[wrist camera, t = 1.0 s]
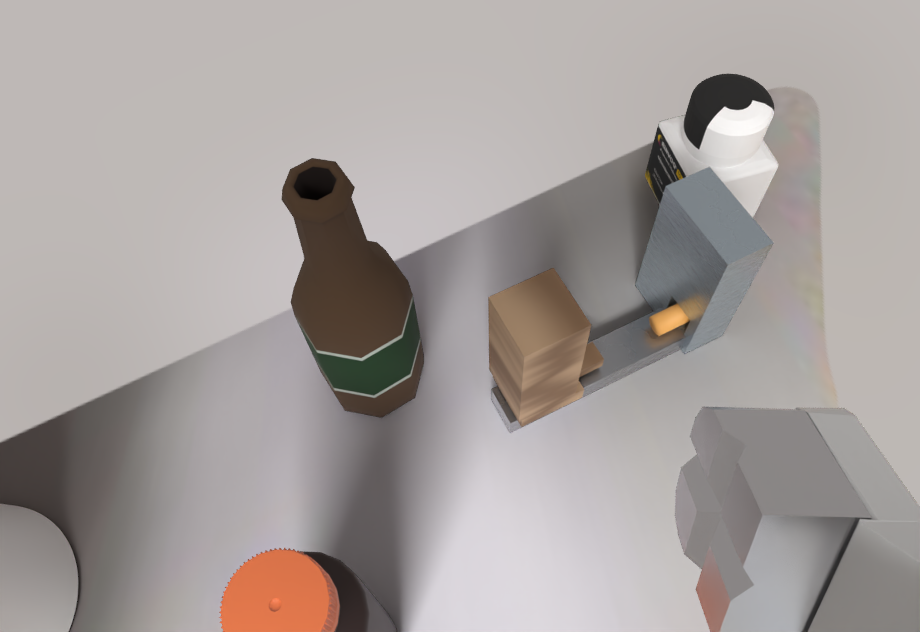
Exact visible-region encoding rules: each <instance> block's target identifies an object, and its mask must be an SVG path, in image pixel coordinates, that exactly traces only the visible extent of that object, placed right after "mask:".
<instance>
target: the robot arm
mask: <svg viewBox="0 0 920 632" xmlns="http://www.w3.org/2000/svg"><path fill="white" fill-rule="evenodd" d="M690 437H691V440H692V443H693V445H694V448H695V450H696V453H697V455H696V456H694V457H693V458H692V459H691V460H690V461H688V462H687V463H686V464H685V465H684V466H682V467H681V470H680V475H679V479H678V483H677V487H676V496H675V518H676V524H677V530H678V536H679V539H680V542H681V545H682V549H683V552H684V554H685V555H686V556H687V557H688V558H689V559H690V560H692V561H693V562H694V563H695V564H696V565H697V566H698V567H700V568H701V569H702V571H701V574H700V578H699V581H698V584H697V587H696V591H697V594H698V597H699V600H700V603H701V606H702V609H703V612H704V615H705V617H706V620H707V623H708V626H709V629H710V632H920V506H919V505H918V504H917V502H916V501H915V499H914V498H913V497H912V495H911V494H910V492H909V491H908V490H907V488H906V487H905V485H904V484H903V482H902V481H901V480H900V478H899V477H898V475H897V474H896V473H895V471H894V470H893V468H892V467H891V465H890V464H889V462H888V461H887V460H886V458H885V457H884V455H883V454H882V452H881V451H880V450H879V448H878V447H877V445H876V444H875V443H874V441H873V440H872V438H871V437H870V435H869V434H868V433H867V431H866V430H865V428H864V427H863V426H862V424H861V423H860V421H859V420H858V418H857V417H856V416H855V415H854V414H853V413H851V412H849V411H848V410H846V409H844V408H796V409H769V408H732V407H702V408H701V410H700V411H699V413H698V414H697V416H696V417H695V421H694V424H693V427H692V431H691V434H690ZM77 597H78V572H77V565H76V561H75V557H74V554H73V551H72V549H71V546H70V544H69V542H68V541H67V539H66V537H65V536H64V534H63V533H62V532H61V530H60V529H59V528H58V527H57V526H56V525H55V524H54V523H53V522H52V521H50V520H49V519H48V518H46V517H45V516H43V515H42V514H40V513H38V512H35V511H33V510H30V509H28V508H24V507H20V506H15V505H6V504H0V632H69V629H70V627H71V624H72V621H73V617H74V614H75V609H76V604H77Z"/></svg>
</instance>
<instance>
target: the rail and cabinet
mask: <svg viewBox="0 0 920 632" xmlns="http://www.w3.org/2000/svg"><path fill="white" fill-rule="evenodd" d="M772 245H773V242H772V240H771V239H770V238H769V237H768V236H767V234H766V233H765V232H764V231H763V230H762V228H761V227H760V226H759V225H758V224H757V222H756V221H755V220H754V219H753V218H752V216H751V215H750V214H749V213H748V212H747V211H746V209H745V208H744V207H743V206H742V205H741V203H740V202H739V201H738V200H737V199H736V197H735V196H734V195H733V194H732V193H731V191H730V190H729V189H728V188H727V187H726V186H725V184H724V183H723V182H722V181H721V180H720V178H719V177H718V176H717V175H716V174H715V172H714V171H713V170H712V169H711V168H710V167H707V168H705V169H703V170H701V171H698V172H696V173H694V174H692V175H689V176H687V177H685V178H683V179H680V180H678V181H676V182H674V183H672V184H669V185H667V186H666V187H665V190H664V193H663V196H662V200H661V203H660V206H659V210H658V213H657V216H656V219H655V223H654V226H653V229H652V232H651V236H650V239H649V242H648V245H647V249H646V252H645V255H644V258H643V262H642V265H641V268H640V271H639V275H638V278H637V281H636V284H635V286H636V287H637V288H638V290H639V291H640V293H641V294H642V295H643V297H644V298H645V300H646V301H647V303H648V304H649V305H650V307H651V308H652V310H653V311H654V312H652V313H650V314H648V315H645V316H643V317H641V318H639V319H637V320H635V321H633V322H631V323H629V324H627V325H625V326H622V327H620V328H618V329H616V330H614V331H612V332H610V333H608V334H606V335H604V336H602V337H600V338H597V339H595V340H593V341H591V342H593V343H594V345H595V346H596V348H597V349H598V351H599V352H600V354H601V355H602V357H603V358H604V361H603V365H602V366H601V367H599V368H597V369H595V370H593V371H591V372H589V373H587V374H585V375H583V376H581V377H579V382H580V383H581V385H582V386H583V388H584V392H583V396H582V397H584V396H586V395H588V394H591V393H593V392H595V391H597V390H599V389H601V388H603V387H605V386H607V385H609V384H611V383H613V382H615V381H617V380H619V379H621V378H623V377H625V376H627V375H629V374H631V373H633V372H635V371H637V370H639V369H641V368H643V367H645V366H647V365H649V364H651V363H653V362H655V361H658V360H660V359H662V358H664V357H666V356H668V355H670V354H672V353H674V352H676V351H678V350H680V349H681V350H682V352H683V353H684V354H686V353H688V352H690V351H692V350H694V349H696V348H698V347H700V346H702V345H704V344H706V343H708V342H710V341H712V340H714V339H716V338H718V337H720V336H722V335H723V333H724V331H725V330H726V328H727V326H728V324H729V322H730V321H731V319H732V317H733V315H734V313H735V312H736V310H737V308H738V306H739V304H740V303H741V301H742V299H743V297H744V295H745V294H746V292H747V290H748V288H749V286H750V285H751V283H752V281H753V279H754V277H755V276H756V274H757V272H758V270H759V269H760V267H761V265H762V263H763V261H764V260H765V258H766V256H767V254H768V252H769V251H770V249H771V247H772ZM677 303H678V305H679V306H680V307H681V309H682V310H683V311H684V313H685V314H686V316H687V317H688V318H689V320H690V321H689V322H687V323H685V324H683V325H681V326H679V327H677V328H675V329H673V330H671V331H669V332H666V333H664V334H662V335H660V336H658V335H657V334H656V333H655V332H654V331H653V330H652V328H651V326H650V323H649V317H650V316H652V315H654V314H656V313H658V312H660V311H663V310H665V309H667V308H669V307H671V306H673V305H675V304H677ZM591 342H589V343H591ZM589 343H587V344H589ZM491 400H492V402H493V404H494V405H495V407H496V409H497V411H498V413H499V414H500V416H501V418H502V420H503V421H504V423H505V425H506V427H507V429H508V430H509V432H510V433H511V432H513V431H515V430H517V429H519V428H521V426H520V424H519V422H518V420H517V419H516V417H515V415H514V413H513V412H512V410H511V408H510V406H509V405H508V403H507V401H506V399H505V398H504V396H503V394H502V392H501V391H500V389H499V387H498V386H497V387H495V388H493V389H491ZM559 409H560V408H559ZM557 410H558V409H557ZM555 411H556V410H555ZM553 412H554V411H553ZM551 413H552V412H551ZM549 414H550V413H549ZM547 415H548V414H547ZM545 416H546V415H545ZM543 417H544V416H543ZM541 418H542V417H541ZM539 419H540V418H539ZM537 420H538V419H537ZM535 421H536V420H535ZM533 422H534V421H533ZM531 423H532V422H531ZM529 424H530V423H529ZM527 425H528V424H527ZM525 426H526V425H525ZM523 427H524V426H523Z"/></svg>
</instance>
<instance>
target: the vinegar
mask: <svg viewBox="0 0 920 632" xmlns="http://www.w3.org/2000/svg"><path fill="white" fill-rule="evenodd" d="M240 567H241V568H240V569H239V570H237V572H236V573H235V574H234V573H233V575H234V576H233V577H232V578H230V579H231V581H230V582H228V584H229V585H228V587H225V588H227V589H226V591H225V592H223V593H224V596H222V598H223V601H221V603H222V606H221V607H220V608H221V612H219V613H221V617H219V618H221V619H222V621H221V622H220V623H222V627H221V628H223V630H224V631H223V632H397V629H396V627H395V625H394V623H393V621H392V620H391V618H390V616H389V614H388V613H387V612H386V611H385V609H384V608H383V607H382V606H381V605H380V603H379V602H378V601H377V600H376V598H375V597H374V596H373V595H372V594H371V592H370V591H369V590H368V589H367V587H366V586H365V585H364V584H363V583H362V581H361V580H360V579H359V578H358V576H357V575H356V574H355V573H354V572H353V571H352V570H350V569H349V568H348V567H347V566H346V565H345V564H344V563H343V562H341V561H340V560H338V559H336V558H333V557H331V556H328V555H326V554H323V553H321V552H302V551H300V552H299V551H297V552H296V551H295V550H294V549H293V550H291V549H290V548H289V549H288V550H286V549H285V548H284V550H282V549H281V548H279V550H277V549H276V548H275V550H271V549H270V551H269V552H267V551H265V553H262V552H261V554H259V555H258V554H256V557H253V556H252V559H251V560H249V559H248V562H246V563H245V562H244V565H243V566H240Z"/></svg>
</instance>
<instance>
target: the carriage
mask: <svg viewBox="0 0 920 632" xmlns="http://www.w3.org/2000/svg"><path fill="white" fill-rule="evenodd" d="M488 300H489V370H490V371H491V373H492V375H493V378H494V380H495V382H496V383H497V385H498V387H499V389H500V391H501V392H502V394H503V396H504V398H505V399H506V401H507V403H508V405H509V406H510V408H511V410H512V412H513V413H514V415H515V417H516V419H517V420H518V422H519V424H520V426H521V427H523V426H525V425H527V424H529V423H531V422H533V421H535V420H537V419H539V418H541V417H543V416H545V415H547V414H549V413H551V412H553V411H555V410H557V409H559V408H562V407H564V406H566V405H568V404H570V403H572V402H574V401H576V400H578V399H580V398H582V396H583V392H584V388H583V386H582V385H581V383H580V382H579V377H581V376H583V375H585V374H587V373H589V372H591V371H593V370H595V369H597V368H599V367H601V366H602V365H603V361H604V358H603V357H602V355H601V354H600V352H599V351H598V349H597V348H596V346H595V345H594V343H593V342H591V343H589V344H587V342H588V338H589V333H590V329H591V324H590V322H589V321H588V319H587V318H586V316H585V315H584V313H583V312H582V310H581V309H580V307H579V306H578V304H577V303H576V301H575V299H574V298H573V296H572V295H571V293H570V292H569V290H568V289H567V287H566V286H565V284H564V283H563V281H562V280H561V278H560V277H559V275H558V274H557V272H556V271H555V269H554V268H552V269H549V270H547V271H545V272H543V273H541V274H538V275H536V276H534V277H532V278H530V279H527V280H525V281H523V282H521V283H519V284H516V285H514V286H512V287H510V288H508V289H505V290H503V291H501V292H499V293H497V294H494V295H492V296H490V297H488Z"/></svg>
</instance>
